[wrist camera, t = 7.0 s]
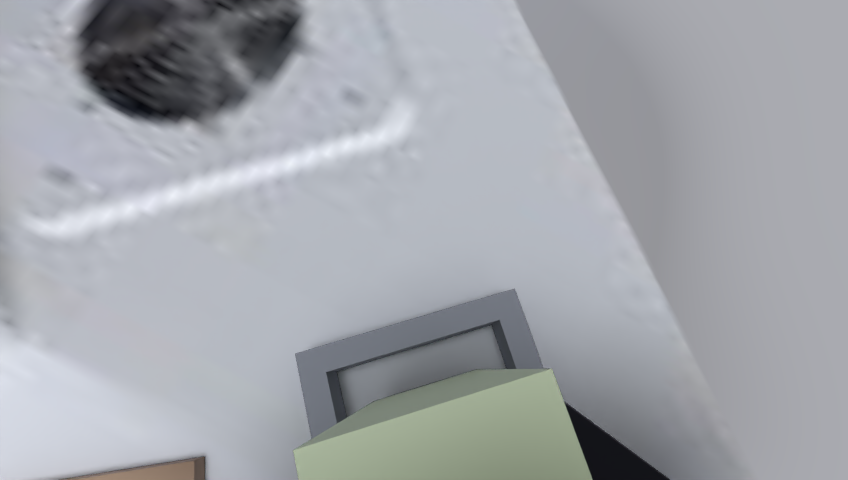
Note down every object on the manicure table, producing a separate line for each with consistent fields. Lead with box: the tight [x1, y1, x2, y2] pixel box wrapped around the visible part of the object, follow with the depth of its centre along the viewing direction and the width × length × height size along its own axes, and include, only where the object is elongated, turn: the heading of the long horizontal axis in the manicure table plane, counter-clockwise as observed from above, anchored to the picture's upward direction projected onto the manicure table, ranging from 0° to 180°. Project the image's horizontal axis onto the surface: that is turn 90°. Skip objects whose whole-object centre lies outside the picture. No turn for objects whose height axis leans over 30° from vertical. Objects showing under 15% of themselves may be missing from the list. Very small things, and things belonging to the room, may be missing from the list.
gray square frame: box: [295, 289, 544, 438], centre depth 16 cm, size 9×9×2 cm
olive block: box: [293, 369, 593, 480], centre depth 10 cm, size 4×4×10 cm
